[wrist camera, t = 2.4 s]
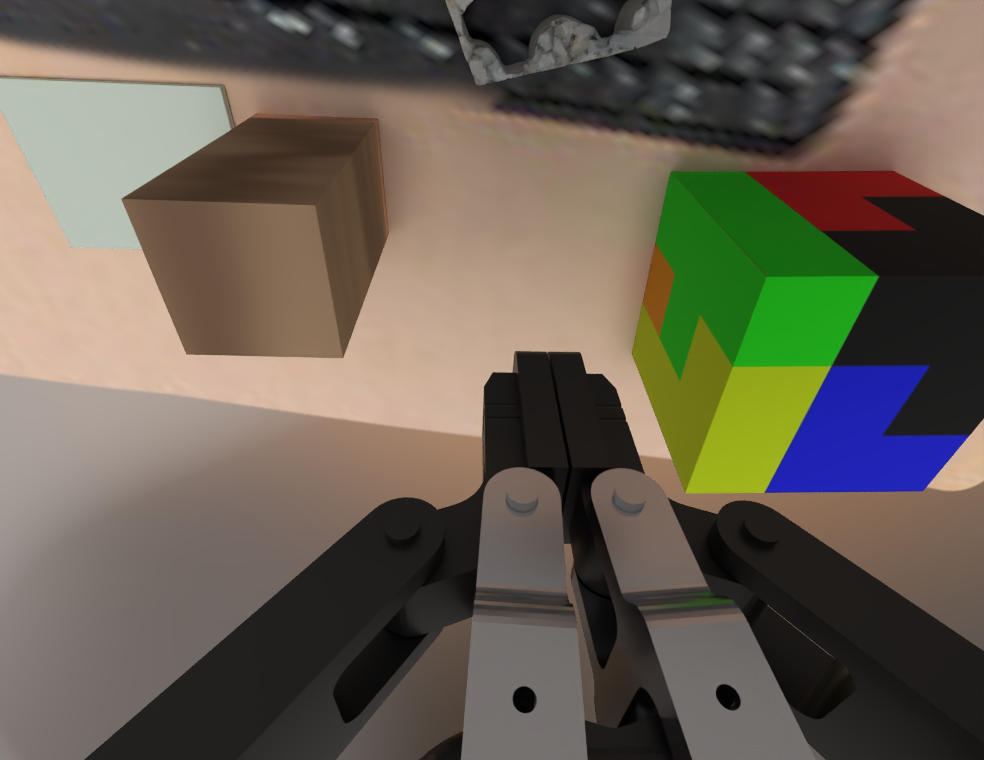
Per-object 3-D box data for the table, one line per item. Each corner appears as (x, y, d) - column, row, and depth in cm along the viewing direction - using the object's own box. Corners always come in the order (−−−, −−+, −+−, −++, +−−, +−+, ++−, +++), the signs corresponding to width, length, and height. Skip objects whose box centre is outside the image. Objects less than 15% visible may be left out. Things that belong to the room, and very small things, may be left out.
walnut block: (377, 119, 21) (315, 205, 13) (388, 233, 24) (343, 358, 16) (256, 114, 21) (121, 199, 13) (282, 230, 24) (186, 354, 16)
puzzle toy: (805, 351, 29) (922, 491, 21) (631, 352, 29) (685, 493, 21) (892, 170, 23) (1103, 274, 15) (670, 171, 23) (766, 276, 15)
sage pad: (223, 85, 20) (220, 87, 20) (266, 249, 25) (263, 253, 24) (-8, 76, 20) (-16, 78, 20) (76, 244, 24) (71, 247, 24)
